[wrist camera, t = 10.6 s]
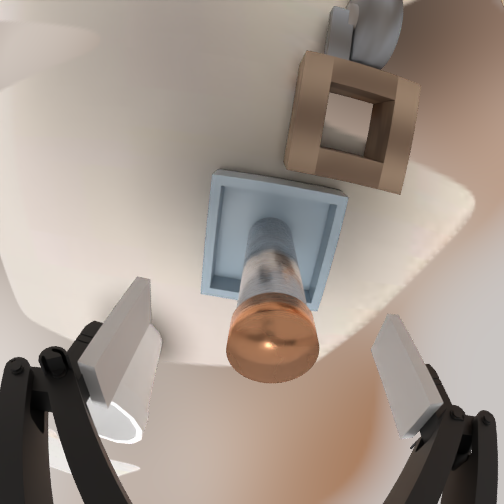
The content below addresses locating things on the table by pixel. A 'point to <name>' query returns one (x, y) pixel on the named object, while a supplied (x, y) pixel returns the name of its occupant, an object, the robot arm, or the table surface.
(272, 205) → the tray
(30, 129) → the table surface
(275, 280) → the pin
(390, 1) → the pulley block
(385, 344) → the robot arm
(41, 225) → the table surface
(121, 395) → the foam cup
